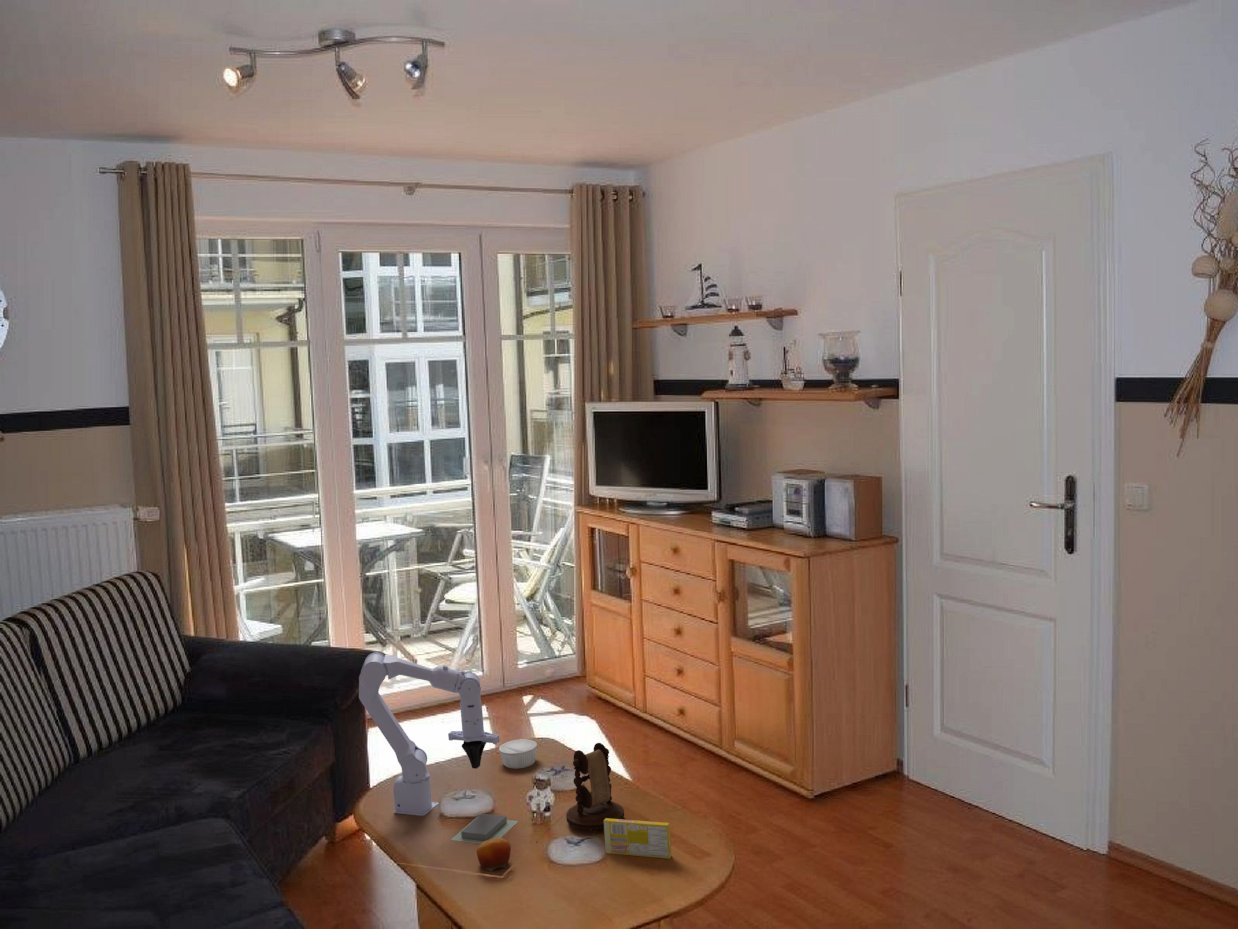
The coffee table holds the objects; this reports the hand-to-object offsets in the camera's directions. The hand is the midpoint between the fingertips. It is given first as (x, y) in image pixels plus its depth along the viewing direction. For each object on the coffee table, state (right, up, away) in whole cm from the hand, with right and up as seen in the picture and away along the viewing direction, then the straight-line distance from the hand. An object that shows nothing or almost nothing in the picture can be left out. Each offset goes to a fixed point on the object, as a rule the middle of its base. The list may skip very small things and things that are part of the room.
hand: (476, 767), depth 306 cm
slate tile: (+1, -11, -16) cm, 19 cm away
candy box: (+43, -12, -35) cm, 57 cm away
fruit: (+9, -14, -36) cm, 40 cm away
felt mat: (+4, -12, -17) cm, 22 cm away
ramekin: (+9, -6, +28) cm, 30 cm away
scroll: (+32, -10, -16) cm, 38 cm away
